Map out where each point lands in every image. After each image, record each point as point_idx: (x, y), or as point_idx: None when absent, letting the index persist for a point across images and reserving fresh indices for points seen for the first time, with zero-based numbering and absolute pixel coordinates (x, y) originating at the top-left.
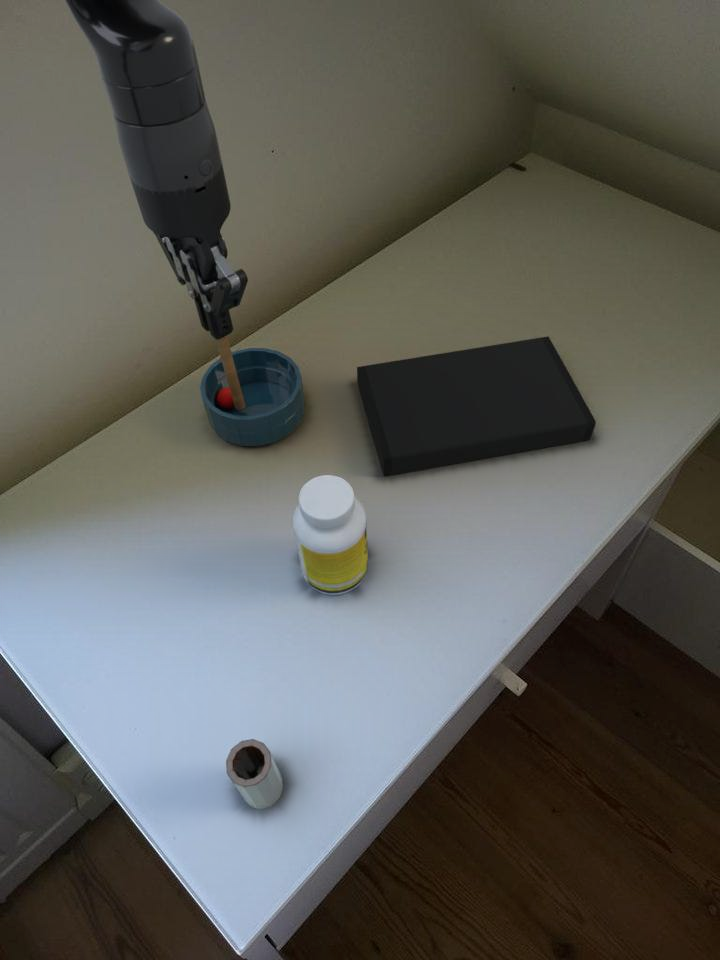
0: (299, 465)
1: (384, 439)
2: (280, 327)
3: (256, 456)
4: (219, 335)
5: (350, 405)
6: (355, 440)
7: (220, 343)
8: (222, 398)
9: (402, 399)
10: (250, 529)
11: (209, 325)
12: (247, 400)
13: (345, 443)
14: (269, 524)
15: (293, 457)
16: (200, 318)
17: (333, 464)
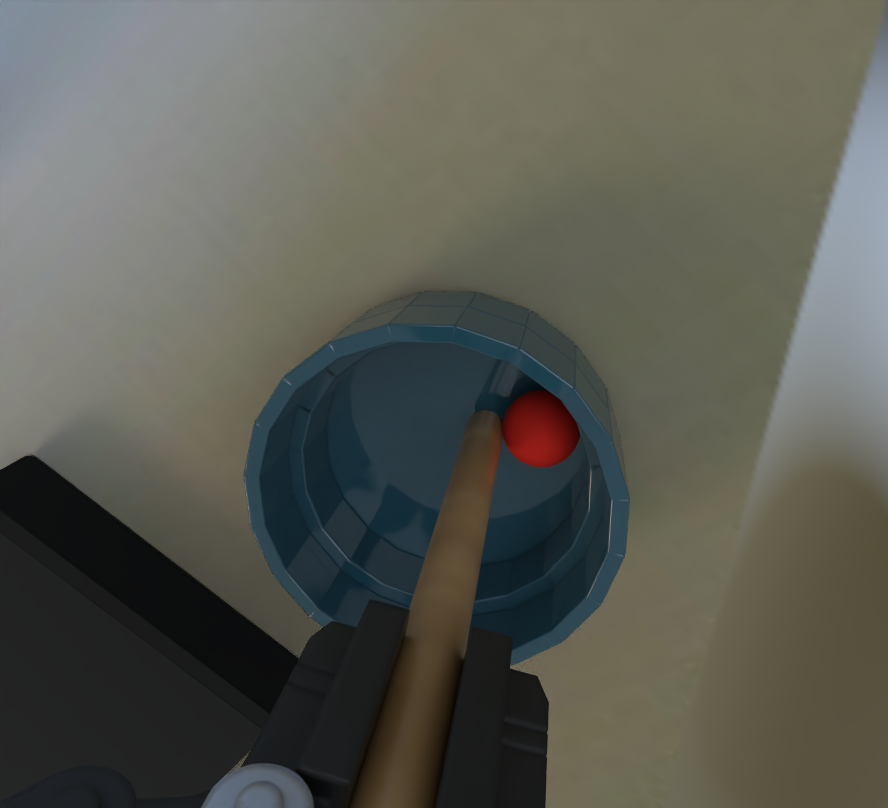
0: (208, 358)
1: (22, 544)
2: (664, 750)
3: (326, 307)
4: (334, 629)
5: (270, 601)
6: (170, 511)
7: (420, 592)
8: (530, 412)
9: (99, 677)
10: (122, 77)
11: (371, 665)
12: (507, 464)
13: (180, 490)
14: (100, 132)
15: (242, 371)
16: (490, 687)
17: (147, 415)
